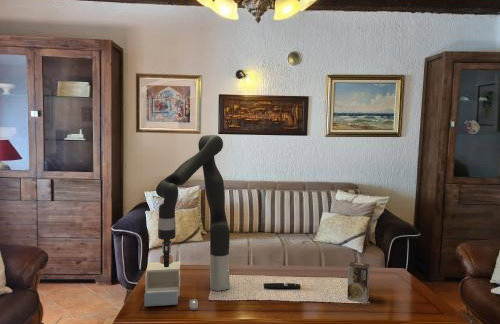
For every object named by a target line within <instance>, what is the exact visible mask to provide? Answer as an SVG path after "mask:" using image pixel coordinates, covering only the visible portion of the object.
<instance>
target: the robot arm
mask: <svg viewBox="0 0 500 324" xmlns="http://www.w3.org/2000/svg"><path fill="white" fill-rule="evenodd" d="M197 145H198V152H196V154H194V155H193V156H191V157H190V158H188V159H187V160H185V161H184V162H183V163H181V164H180V165H179V166H178V167H177V169H175V170H174V171H173V172H172V173H171V174H170V175H168V176H166V177H164V178H163V179H162V180H161V181H159V183H158V184H157V186H156V188H155V194H156V195H157V196H158V197H160V198H162V199H163V202H162V203H161V204H159V207H158V222H157V238H158V239H159V240H161V242H162V243H161V247H162V254H163V255H162V256H163V259H164V267H169V258H170V257H169V255H171V251H172V240H174V239H175V238H176V233H177V231H176V230H177V229H176V206H177V203H178V199H179V198H178V197H179V188H178V186H183V185H184V184H186V183H187V182H188V181H189V179H191V177H192V176H193V175H194V174H195V173H197V171H198V170H199V169H201V168H202V172H203V180H204V191H205V196H206V200H207V205H208V208H209V213H210V229H209V230H210V232H209V235H210V236H209V239H210V240H209V241H210V244H209V248H210V249H209V251H210V252H209V264H210V265H209V288H210V290H211V291H215V290H216V291H215V292H222V291H221V290H223V291H227V290H230V225H229V223H228V219H227V215H226V207H225V204H226V197H225V196H226V191H225V183H224V179H223V175H222V174H221V172H220V170H219V169H218V166H217V164H216V160H215V156H217V155H218V154H219V153H221V151H222V149H223V148H224V141H223V138H222V137H221V136H219V135H217V134H216V135H215V134H209V135H208V134H207V135H202V136H201V137H200V138H199V140H198V143H197ZM162 240H163V241H162ZM165 255H168V256H165ZM226 289H227V290H226Z"/></svg>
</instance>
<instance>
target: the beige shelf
mask: <svg viewBox="0 0 500 324" xmlns="http://www.w3.org/2000/svg"><path fill="white" fill-rule="evenodd" d="M144 279H145V280H144V281H145V282H144V283H145V292H144V293H147V289H153V288H172V287H178V297H180V293H181V261H173V263H171V264H169V267H164V264H161V263H160V261H159V262H157V261H156V262H148V263H147V267H146V270H145V277H144Z"/></svg>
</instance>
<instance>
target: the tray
mask: <svg viewBox="0 0 500 324" xmlns="http://www.w3.org/2000/svg"><path fill="white" fill-rule="evenodd" d="M143 295H144V296H143V297H144V303H143V304H144V307H156V306H157V307H158V306H172V305H173V306H174V305H175V306H176V305H179V304H178V303H179V301H178V300H179V296H178V287H172V288H153V289H147V293H145V292H144V293H143Z"/></svg>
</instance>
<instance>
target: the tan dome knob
mask: <svg viewBox="0 0 500 324" xmlns="http://www.w3.org/2000/svg"><path fill="white" fill-rule="evenodd" d="M165 256H168V255H165ZM169 257H170V258H169V264H171V263H173V262H174V256H173V255H172V254H169ZM159 262H160V263H161V264H164V259H163V255H161V256H160V257H159Z"/></svg>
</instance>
